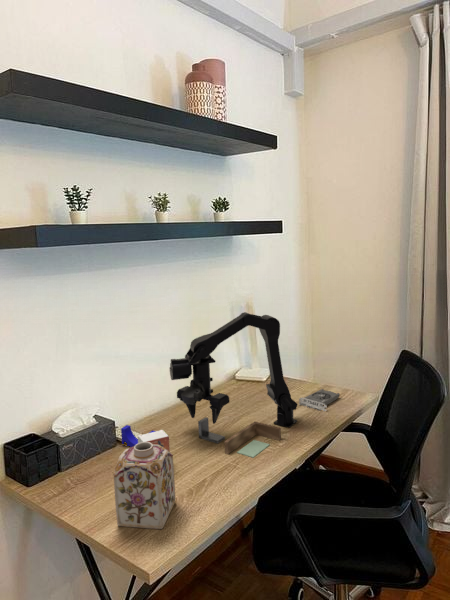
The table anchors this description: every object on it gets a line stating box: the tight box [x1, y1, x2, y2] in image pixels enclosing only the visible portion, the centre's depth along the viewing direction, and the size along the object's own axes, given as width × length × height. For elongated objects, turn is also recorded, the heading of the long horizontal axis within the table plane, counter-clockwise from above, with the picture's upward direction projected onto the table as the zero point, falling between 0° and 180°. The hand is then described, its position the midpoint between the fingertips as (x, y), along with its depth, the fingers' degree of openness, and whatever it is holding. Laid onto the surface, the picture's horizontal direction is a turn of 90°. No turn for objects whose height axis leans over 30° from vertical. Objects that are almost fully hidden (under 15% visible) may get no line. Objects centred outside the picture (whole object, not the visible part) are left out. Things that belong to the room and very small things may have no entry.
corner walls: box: [223, 421, 282, 455], centre depth 147 cm, size 18×10×4 cm, turn 144°
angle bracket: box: [197, 417, 226, 445], centre depth 154 cm, size 8×4×6 cm, turn 54°
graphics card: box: [298, 388, 341, 412], centre depth 183 cm, size 17×4×12 cm
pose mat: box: [236, 439, 271, 459], centre depth 146 cm, size 10×6×1 cm, turn 144°
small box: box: [137, 429, 171, 453], centre depth 135 cm, size 8×6×10 cm
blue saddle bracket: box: [120, 424, 157, 448], centre depth 150 cm, size 12×4×6 cm, turn 62°
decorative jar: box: [112, 442, 176, 530], centre depth 112 cm, size 12×12×18 cm
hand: (203, 420), depth 155 cm, fingers open, 9 cm apart
